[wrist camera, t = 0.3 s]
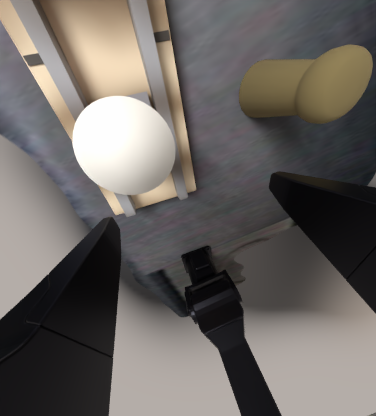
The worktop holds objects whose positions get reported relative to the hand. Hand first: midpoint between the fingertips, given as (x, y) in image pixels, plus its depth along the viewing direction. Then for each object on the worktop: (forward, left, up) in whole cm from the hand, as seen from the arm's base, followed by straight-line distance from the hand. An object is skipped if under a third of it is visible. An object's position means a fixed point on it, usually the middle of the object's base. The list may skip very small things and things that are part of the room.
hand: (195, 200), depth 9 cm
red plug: (+3, +3, -13) cm, 13 cm away
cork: (+3, -14, -15) cm, 21 cm away
